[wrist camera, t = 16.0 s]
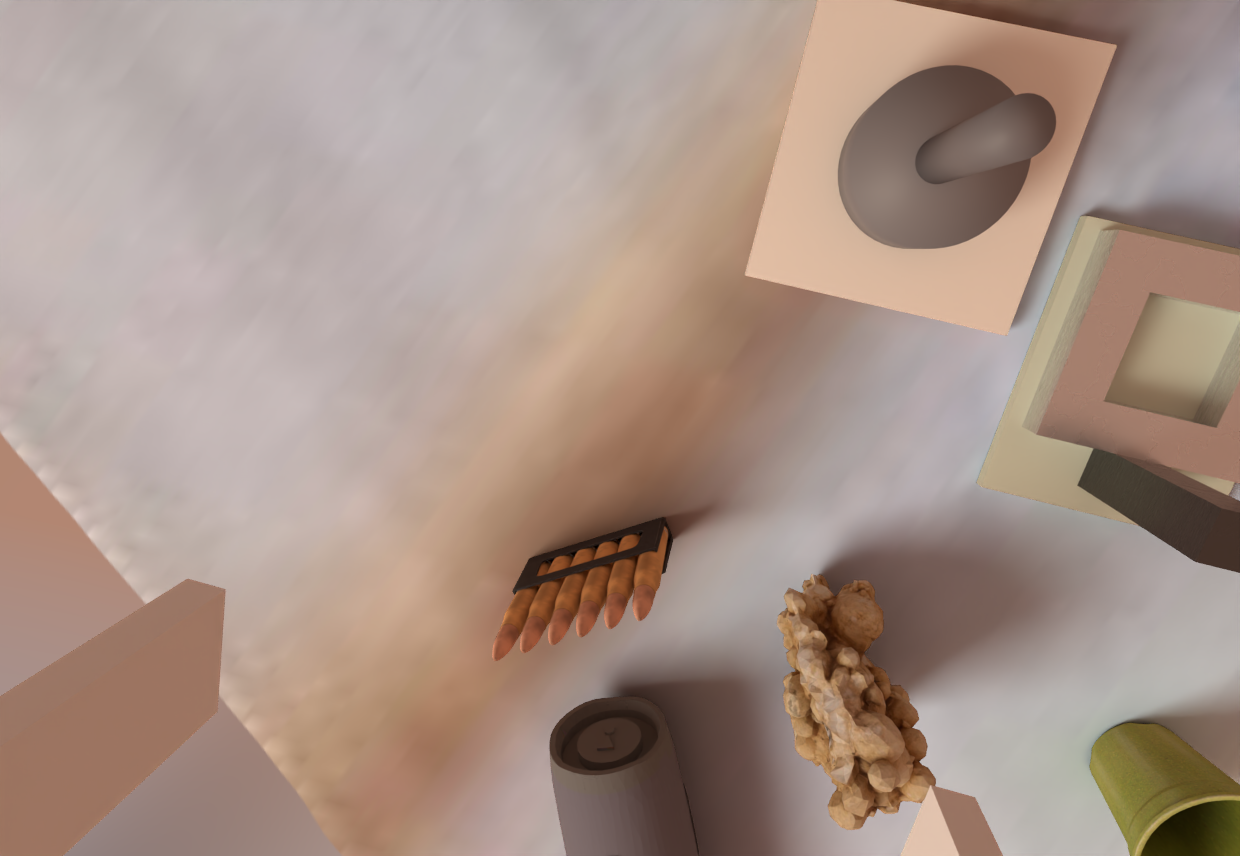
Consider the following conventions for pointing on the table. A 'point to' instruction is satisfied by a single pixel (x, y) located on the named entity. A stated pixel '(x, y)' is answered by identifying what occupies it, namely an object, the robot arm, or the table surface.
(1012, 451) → the mat
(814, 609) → the mineral formation
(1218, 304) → the pink square frame
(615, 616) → the ammunition clip
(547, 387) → the table surface
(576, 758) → the bluetooth speaker
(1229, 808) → the plant pot
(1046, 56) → the stand
